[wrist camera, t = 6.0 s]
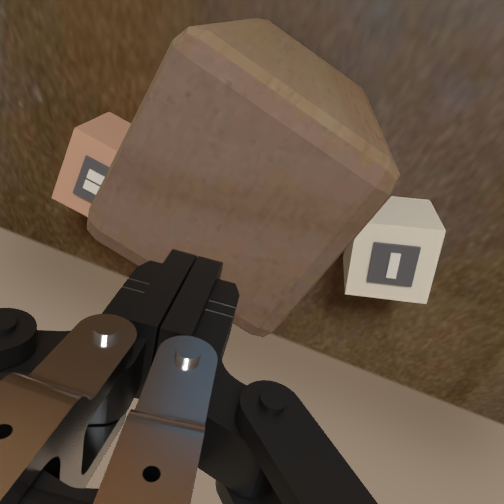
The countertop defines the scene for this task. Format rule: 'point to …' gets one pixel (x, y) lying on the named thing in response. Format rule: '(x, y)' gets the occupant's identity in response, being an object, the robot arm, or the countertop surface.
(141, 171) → the wooden block
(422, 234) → the cream cube
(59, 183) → the pink cube
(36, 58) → the countertop surface
